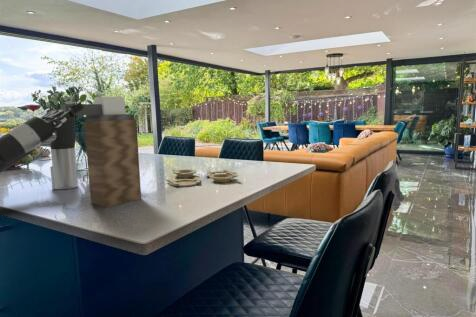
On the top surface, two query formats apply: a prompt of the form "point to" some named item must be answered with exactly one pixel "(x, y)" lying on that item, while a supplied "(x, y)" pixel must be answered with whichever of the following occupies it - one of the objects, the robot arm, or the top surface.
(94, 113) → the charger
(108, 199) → the wood-grain topped box
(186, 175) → the tableware set
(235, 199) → the top surface
